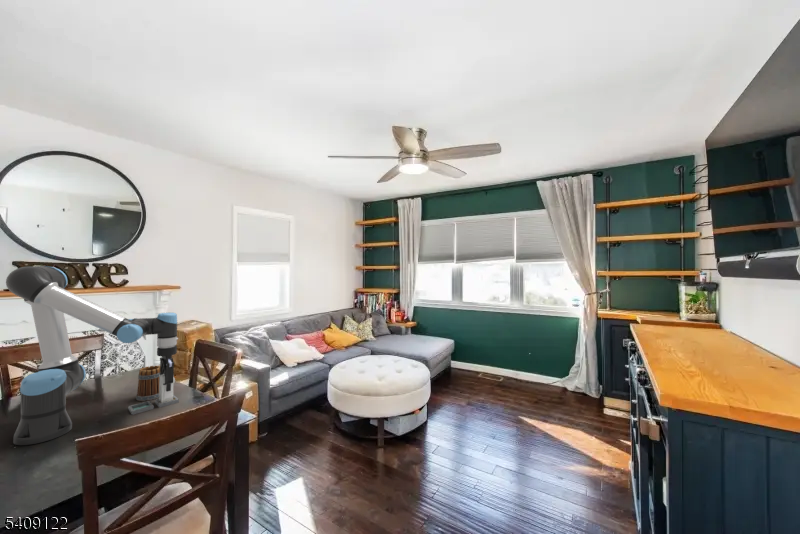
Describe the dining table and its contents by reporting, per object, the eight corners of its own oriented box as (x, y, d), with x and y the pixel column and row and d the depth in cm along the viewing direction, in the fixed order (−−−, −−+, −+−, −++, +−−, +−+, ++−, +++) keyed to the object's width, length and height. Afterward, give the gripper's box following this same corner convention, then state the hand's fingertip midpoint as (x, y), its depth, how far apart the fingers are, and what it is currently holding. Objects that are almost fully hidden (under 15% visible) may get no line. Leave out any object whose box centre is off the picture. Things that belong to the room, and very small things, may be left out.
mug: (152, 403, 154) (152, 371, 153) (130, 403, 154) (130, 371, 154) (175, 390, 169) (176, 361, 169) (155, 390, 169) (155, 361, 169)
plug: (161, 403, 149) (162, 373, 149) (159, 400, 152) (159, 370, 152) (175, 400, 153) (175, 370, 153) (172, 397, 156) (172, 368, 156)
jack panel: (131, 418, 139) (131, 412, 139) (126, 410, 146) (126, 405, 146) (180, 405, 152) (180, 400, 152) (174, 398, 159) (174, 393, 159)
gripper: (182, 348, 149) (181, 399, 150) (171, 341, 161) (170, 389, 161) (162, 351, 144) (161, 404, 144) (152, 344, 156) (151, 393, 156)
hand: (166, 396), depth 153 cm, fingers closed on plug, 4 cm apart
